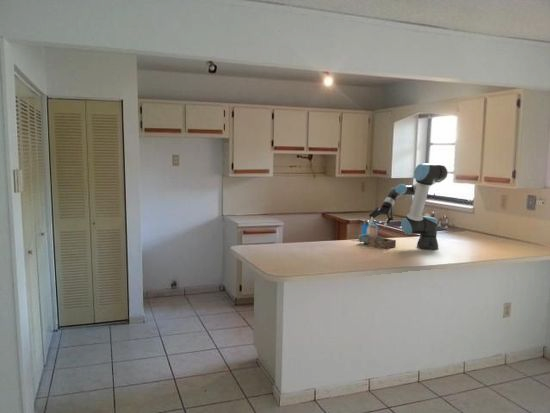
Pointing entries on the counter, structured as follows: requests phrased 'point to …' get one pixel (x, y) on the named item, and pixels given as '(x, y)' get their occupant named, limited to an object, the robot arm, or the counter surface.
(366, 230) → the alarm clock
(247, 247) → the counter surface
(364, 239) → the tray
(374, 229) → the canister
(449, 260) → the counter surface
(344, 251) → the counter surface
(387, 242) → the stand
